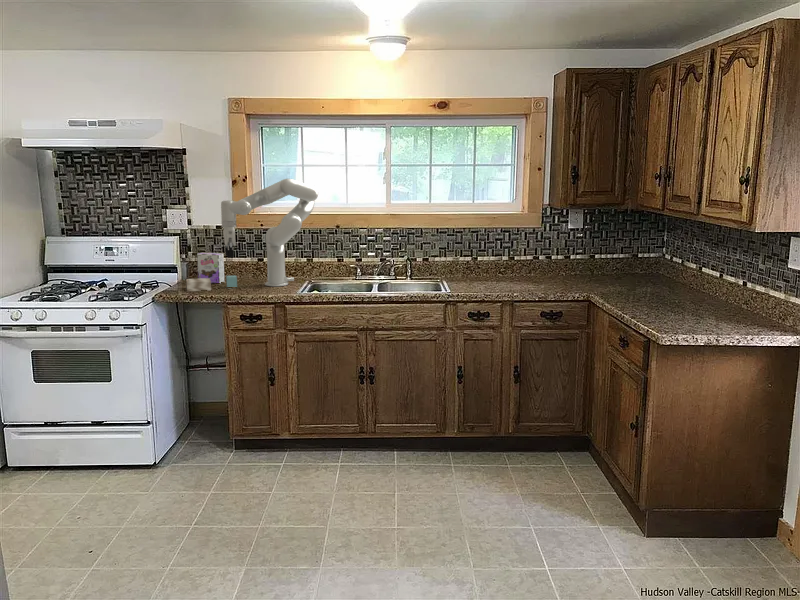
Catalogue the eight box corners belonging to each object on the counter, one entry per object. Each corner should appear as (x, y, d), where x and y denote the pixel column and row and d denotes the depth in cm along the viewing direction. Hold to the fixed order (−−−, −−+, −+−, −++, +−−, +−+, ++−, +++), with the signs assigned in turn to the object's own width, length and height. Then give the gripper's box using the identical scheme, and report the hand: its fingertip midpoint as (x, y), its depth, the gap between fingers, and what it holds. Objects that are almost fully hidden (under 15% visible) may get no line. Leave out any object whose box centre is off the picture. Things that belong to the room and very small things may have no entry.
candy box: (197, 282, 365) (196, 253, 362) (203, 281, 370) (202, 252, 367) (219, 283, 361) (218, 254, 358) (225, 282, 366) (223, 253, 363)
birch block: (210, 287, 352) (209, 278, 351) (211, 290, 341) (210, 281, 340) (186, 288, 348) (186, 279, 347) (187, 292, 337) (186, 282, 336)
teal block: (236, 286, 353) (235, 275, 352) (237, 287, 349) (236, 276, 347) (226, 286, 351) (226, 275, 350) (227, 288, 347) (227, 277, 346)
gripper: (238, 225, 337) (238, 258, 340) (234, 223, 353) (235, 254, 356) (223, 225, 334) (224, 258, 338) (220, 223, 350) (220, 254, 353)
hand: (229, 256), depth 347 cm, fingers open, 9 cm apart
